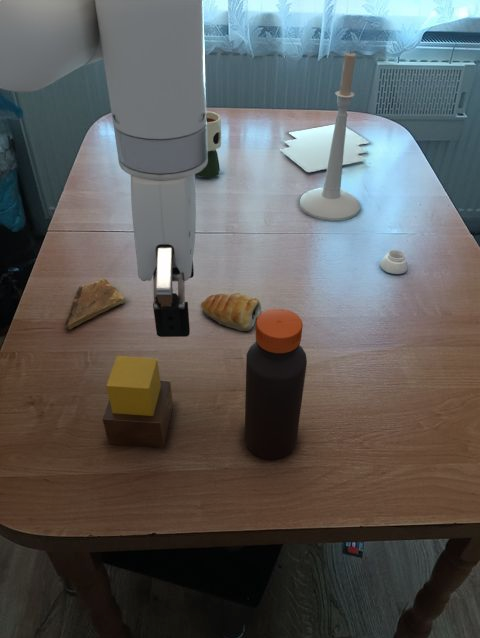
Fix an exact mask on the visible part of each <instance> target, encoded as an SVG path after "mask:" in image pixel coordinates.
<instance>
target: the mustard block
mask: <svg viewBox="0 0 480 638" xmlns="http://www.w3.org/2000/svg"><path fill="white" fill-rule="evenodd" d="M160 381H161V376H160V368H159V361H158V358H152V357H140V356H139V357H138V356H123V355H116V357H115V360H114V363H113V366H112V368H111V371H110V374H109V376H108V380H107V382H106V385H105V387H106V392H107V395H108V400H109V399H110V404H111V408H112V412H113V413H116V414H131V415H146V416H153V415H154V411H155V407H156V403H157V400H158V396H159V392H160V388H161V383H160Z"/></svg>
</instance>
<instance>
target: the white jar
mask: <svg viewBox="0 0 480 638" xmlns="http://www.w3.org/2000/svg"><path fill="white" fill-rule="evenodd" d="M379 266H380V268H381V269H382V270H383V271H385V272H386V273H389V274H392V275H401V274H404V273H406V272H407V271H408V269H409V265H408V261H407V258H406V254H405V252H403V251H401V250H399V249H391V250H389V251H388V252H387V253H386V254H385V255H384V256H383V258H381V260H380V262H379Z"/></svg>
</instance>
